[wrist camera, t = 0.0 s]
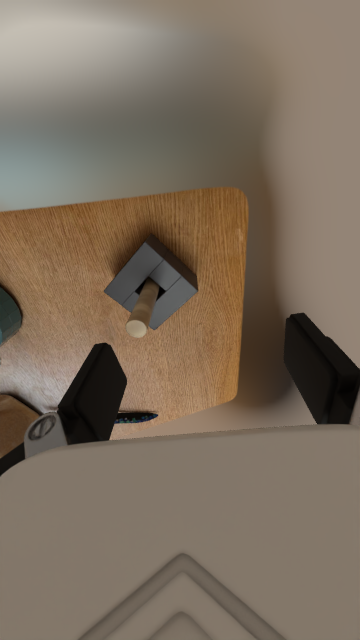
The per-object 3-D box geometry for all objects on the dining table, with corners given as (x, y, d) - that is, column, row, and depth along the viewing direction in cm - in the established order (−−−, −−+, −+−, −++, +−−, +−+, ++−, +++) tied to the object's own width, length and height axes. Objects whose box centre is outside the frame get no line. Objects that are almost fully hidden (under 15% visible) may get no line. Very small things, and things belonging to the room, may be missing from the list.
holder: (114, 277, 37) (103, 291, 32) (151, 232, 33) (144, 241, 28) (158, 312, 41) (154, 330, 36) (197, 276, 37) (198, 291, 32)
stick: (145, 277, 37) (120, 329, 23) (154, 267, 36) (134, 316, 23) (156, 286, 38) (138, 341, 24) (165, 276, 37) (151, 329, 23)
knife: (46, 416, 58) (38, 433, 55) (43, 410, 57) (34, 426, 53) (158, 412, 61) (158, 427, 57) (158, 405, 59) (158, 420, 55)
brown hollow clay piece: (57, 418, 61) (22, 479, 48) (26, 426, 64) (-14, 486, 51) (16, 384, 54) (-38, 446, 41) (-16, 395, 56) (-76, 456, 44)
